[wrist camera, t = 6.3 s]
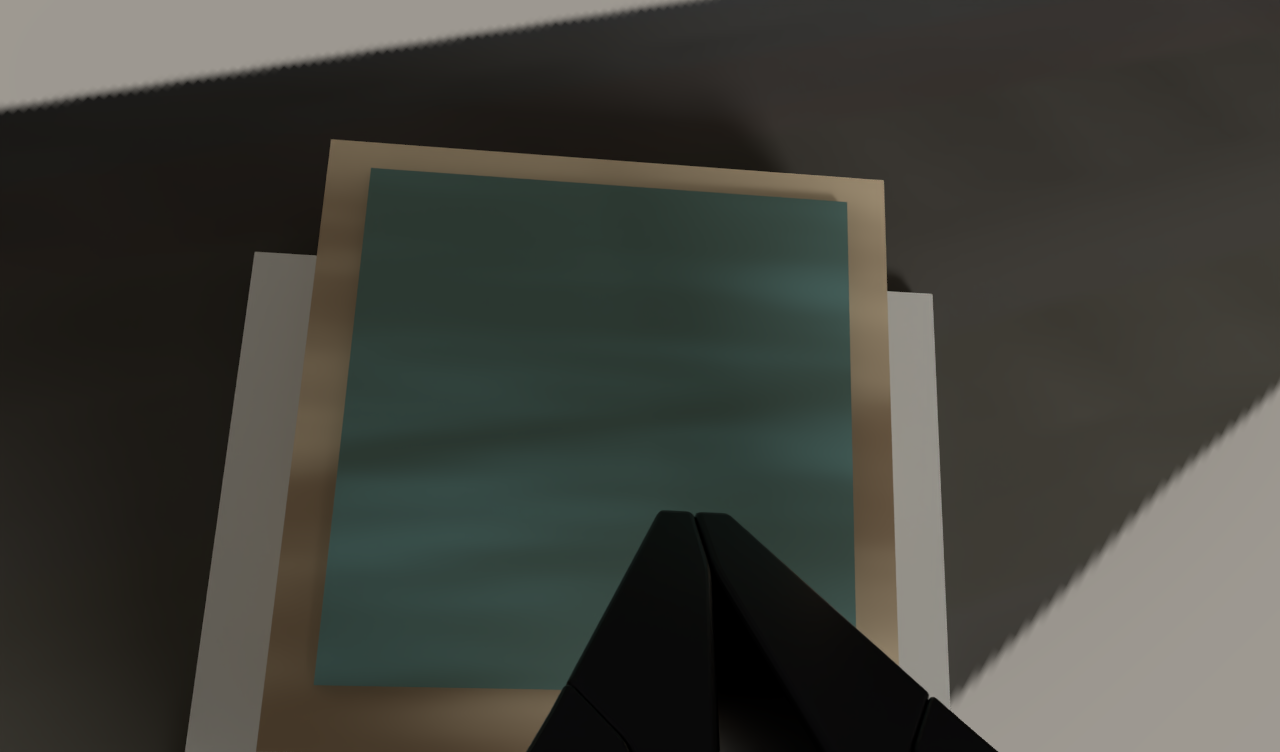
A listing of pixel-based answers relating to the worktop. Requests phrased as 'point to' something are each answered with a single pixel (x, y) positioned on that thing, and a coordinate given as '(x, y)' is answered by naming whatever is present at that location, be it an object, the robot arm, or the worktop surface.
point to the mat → (263, 472)
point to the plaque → (561, 423)
